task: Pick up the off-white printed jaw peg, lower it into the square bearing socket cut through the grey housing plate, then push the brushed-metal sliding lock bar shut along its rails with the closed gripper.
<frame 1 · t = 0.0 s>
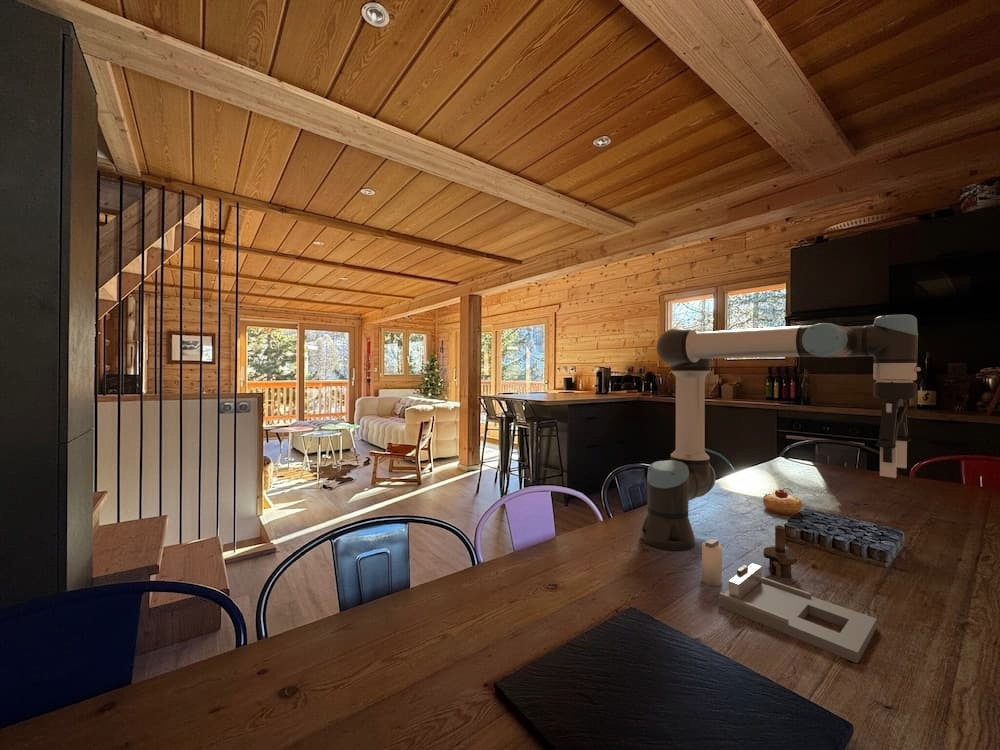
hand: (893, 471, 101), 28 cm above the table, fingers open, 13 cm apart
industrial component: (777, 574, 110), on the table
lock bar: (745, 578, 98), point 5 cm above the table, slide at 0.0 cm
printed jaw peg: (711, 581, 106), on the table
pastry: (782, 511, 157), on the table
housing plate: (794, 616, 91), on the table
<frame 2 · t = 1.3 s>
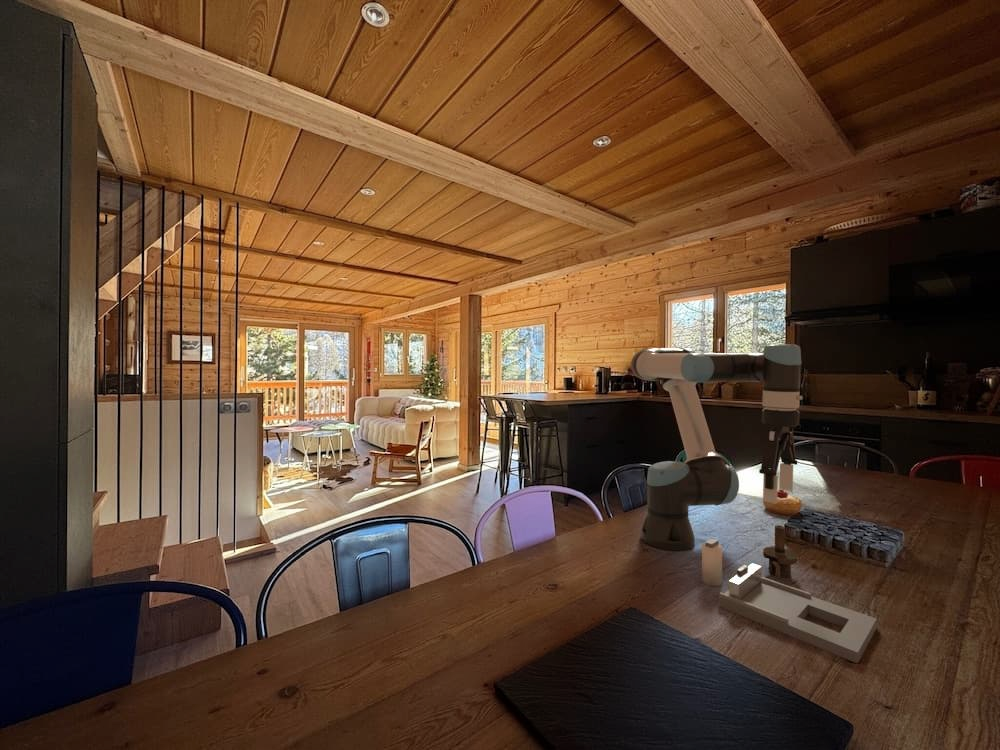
hand: (778, 495, 105), 21 cm above the table, fingers open, 13 cm apart
nothing on the table moved.
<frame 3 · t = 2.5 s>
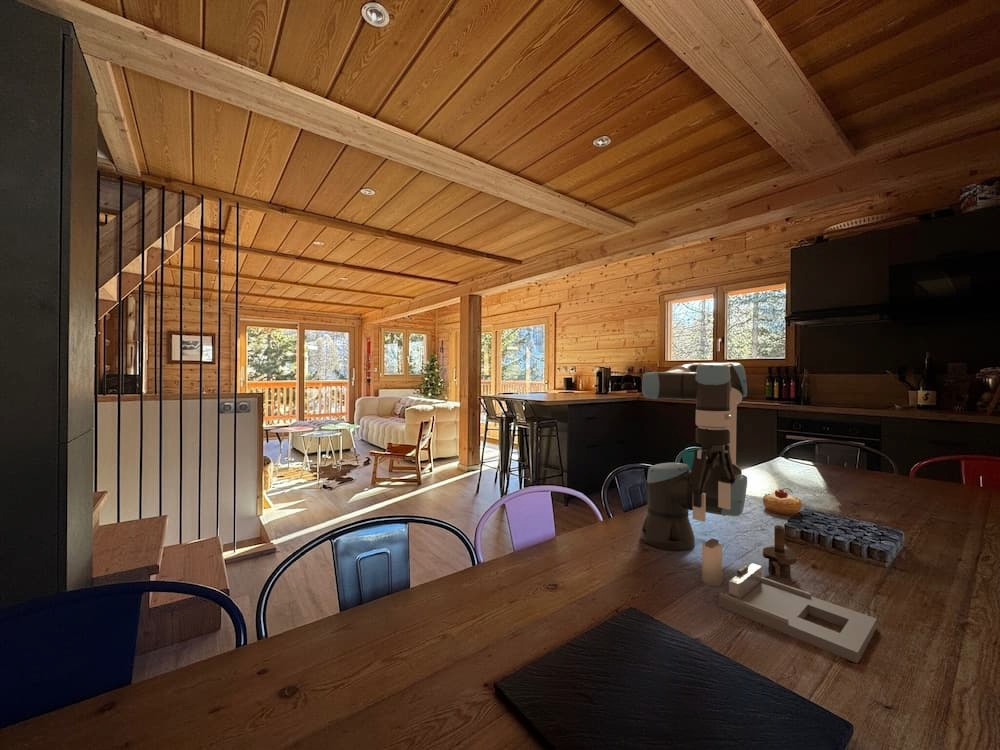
hand: (712, 514, 106), 17 cm above the table, fingers open, 13 cm apart
nothing on the table moved.
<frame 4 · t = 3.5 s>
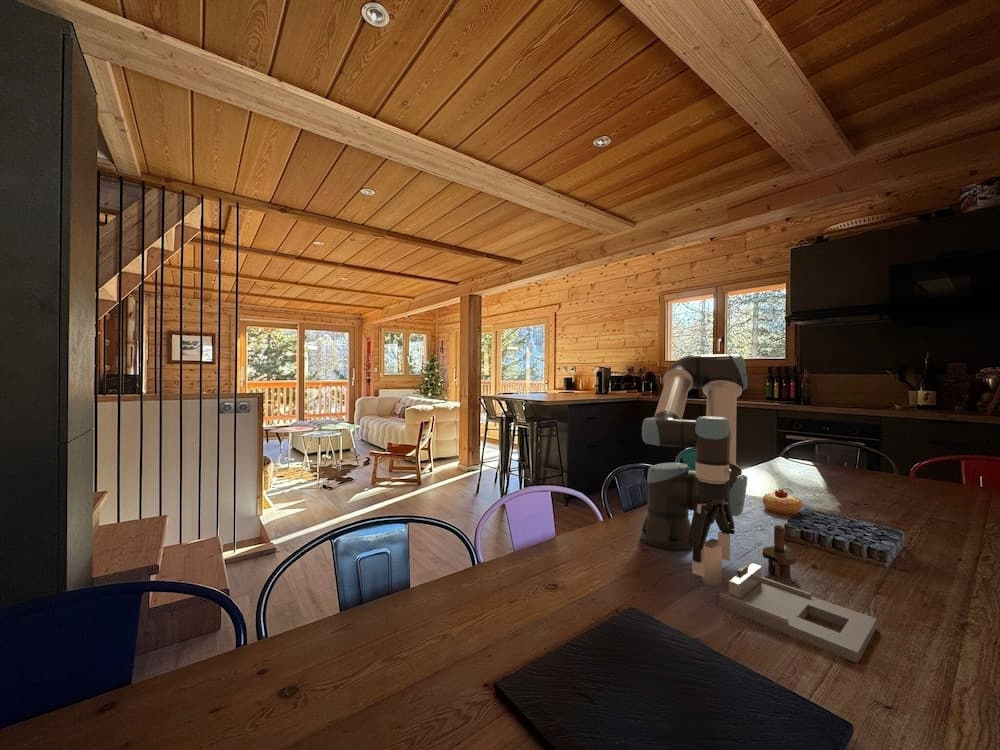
hand: (711, 566, 106), 4 cm above the table, fingers open, 13 cm apart
nothing on the table moved.
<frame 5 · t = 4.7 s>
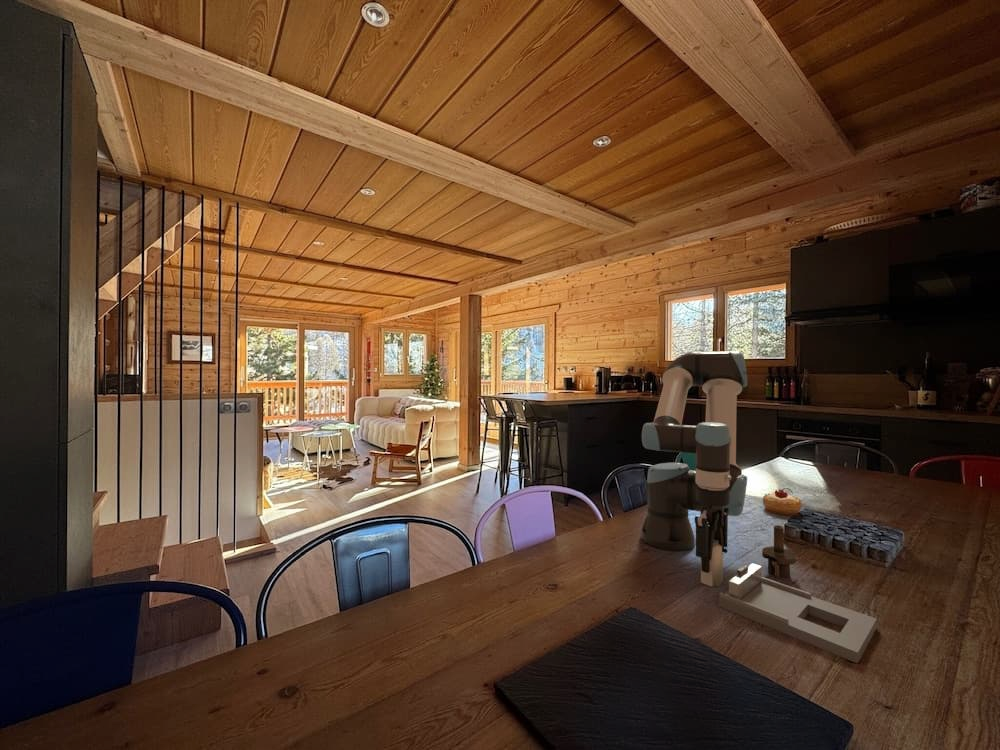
hand: (711, 580, 106), 0 cm above the table, fingers closed on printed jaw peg, 4 cm apart
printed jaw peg: (711, 581, 106), on the table, touching gripper
everything else where it was.
when the fingers open (3 cm above the table, at t = 9.8 s): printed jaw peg drops 3 cm, resting in housing plate.
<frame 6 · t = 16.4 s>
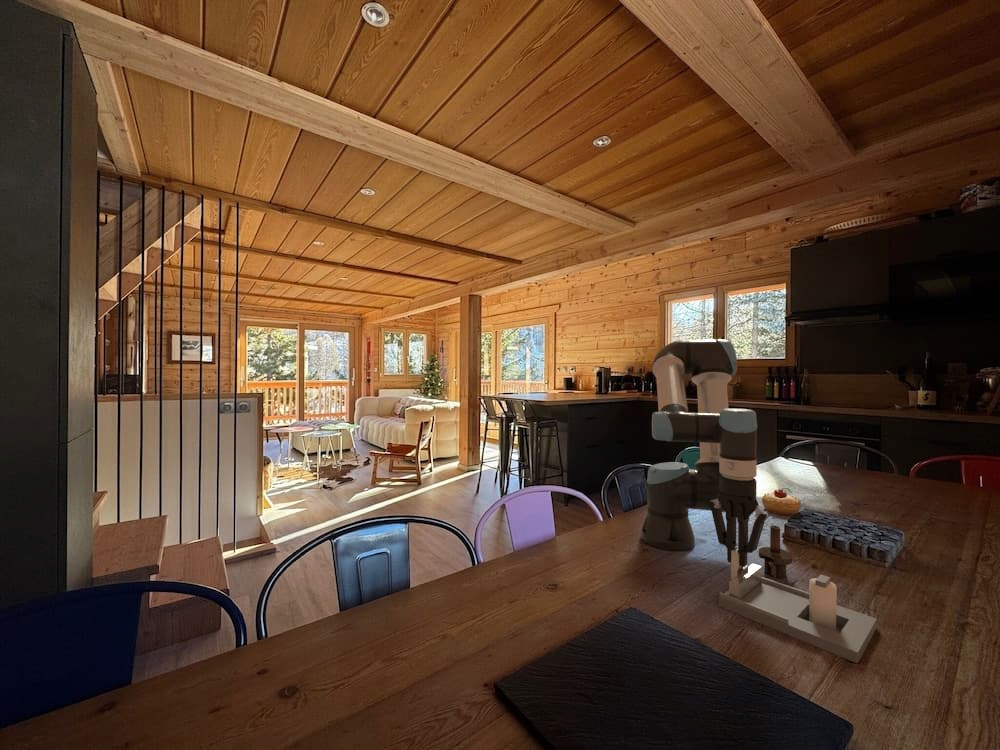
hand: (737, 578, 99), 4 cm above the table, fingers closed
lock bar: (745, 578, 98), point 5 cm above the table, slide at 0.1 cm, touching gripper
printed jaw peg: (822, 627, 87), resting in housing plate
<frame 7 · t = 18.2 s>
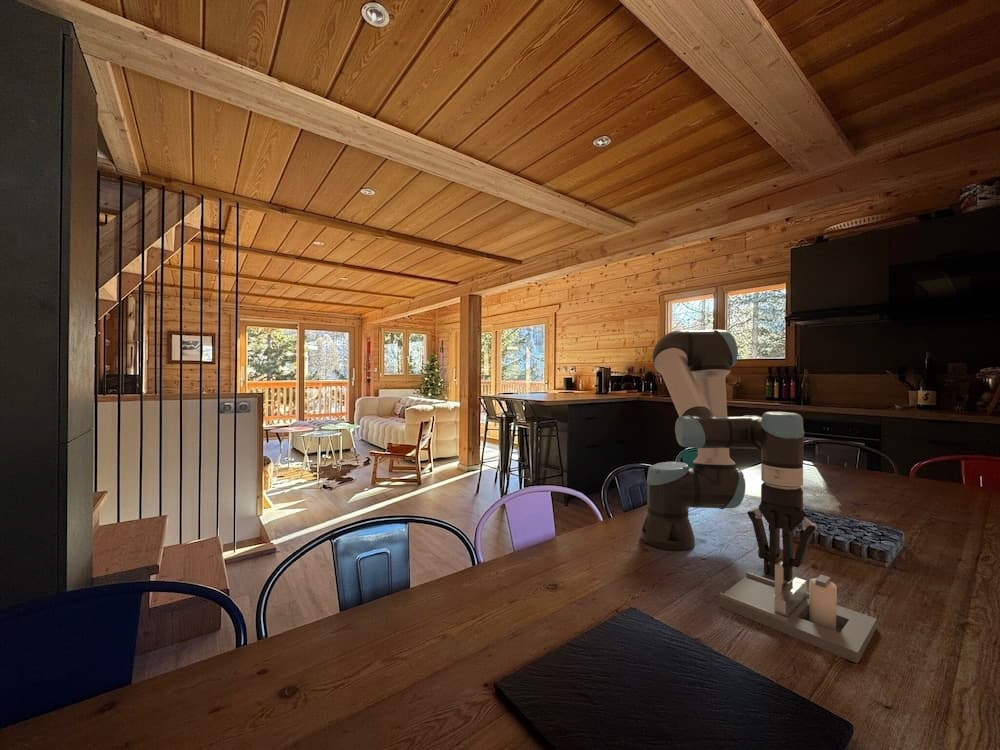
hand: (780, 593, 93), 4 cm above the table, fingers closed
lock bar: (790, 594, 91), point 5 cm above the table, slide at 8.9 cm, touching gripper
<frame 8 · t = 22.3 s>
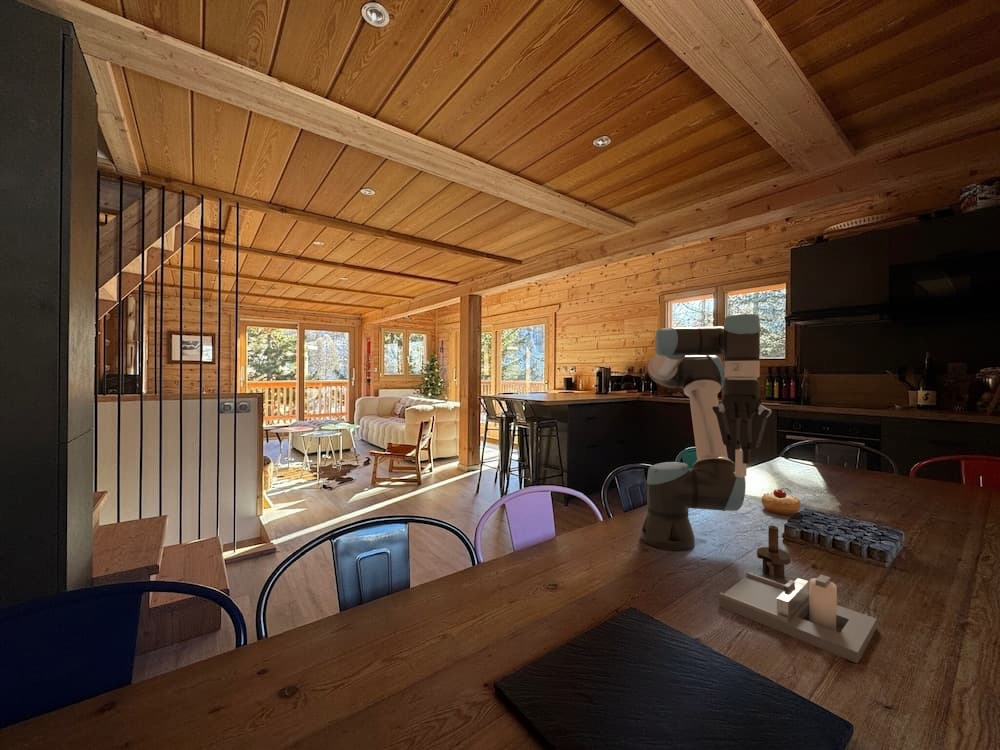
hand: (740, 476, 104), 26 cm above the table, fingers closed
lock bar: (792, 595, 91), point 5 cm above the table, slide at 9.3 cm
at the end: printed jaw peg 0.1 cm from the target spot on the housing plate, point 0.0 cm above the housing plate's base; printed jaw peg tilted 0°; lock bar slide at 9.3 cm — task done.
